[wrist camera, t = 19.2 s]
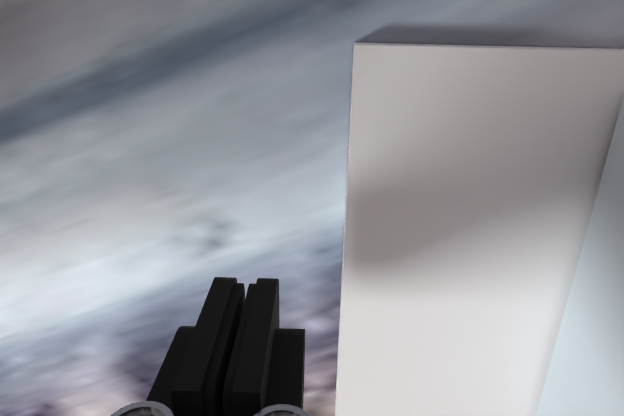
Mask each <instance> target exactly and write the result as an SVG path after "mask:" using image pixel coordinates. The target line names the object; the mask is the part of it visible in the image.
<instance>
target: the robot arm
mask: <svg viewBox="0 0 624 416" xmlns="http://www.w3.org/2000/svg"><path fill="white" fill-rule="evenodd" d="M304 361H305V329H279V280H278V279H268V278H258V279H257V283H256V284H249V287H248V291H247V295H246V299H245V289H244V284H243V283H237V279H236V278H226V277H215V278H214V280H213V282H212V285H211V288H210V290H209V293H208V295H207V298H206V300H205V303H204V306H203V308H202V311H201V313H200V316H199V318H198V321H197V324H196V326H181V327H179V329H178V330H177V332H176V334H175V337H174V339H173V341H172V343H171V346H170V348H169V350H168V352H167V355H166V357H165V359H164V362H163V364H162V366H161V368H160V371H159V373H158V375H157V377H156V380H155V382H154V384H153V386H152V389H151V391H150V393H149V396H148V398H147V400H146V401H141V402H136V403H132V404H129V405H127V406H125V407H122V408H120V409H119V410H118V411H116V412H115V413H113V414H112V415H111V416H310V415H309V414H308V413H307V412H305V411H304V410H303V392H304Z"/></svg>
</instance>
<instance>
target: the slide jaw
mask: <svg viewBox="0 0 624 416" xmlns="http://www.w3.org/2000/svg"><path fill="white" fill-rule="evenodd" d="M536 416H624V97H623V101H622V105H621V108H620V112H619V116H618V119H617V123H616V126H615V130H614V134H613V137H612V141H611V145H610V148H609V152H608V155H607V159H606V163H605V166H604V170H603V174H602V177H601V181H600V184H599V188H598V192H597V195H596V199H595V203H594V206H593V210H592V213H591V217H590V221H589V224H588V228H587V232H586V235H585V239H584V242H583V246H582V250H581V253H580V257H579V261H578V264H577V268H576V271H575V275H574V279H573V282H572V286H571V290H570V293H569V297H568V300H567V304H566V308H565V311H564V315H563V319H562V322H561V326H560V329H559V333H558V337H557V340H556V344H555V348H554V351H553V355H552V358H551V362H550V366H549V369H548V373H547V377H546V380H545V384H544V387H543V391H542V395H541V398H540V402H539V406H538V409H537V413H536Z"/></svg>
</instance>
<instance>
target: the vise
mask: <svg viewBox="0 0 624 416" xmlns="http://www.w3.org/2000/svg"><path fill="white" fill-rule="evenodd" d="M623 97H624V49H605V48H564V47H522V46H481V45H439V44H398V43H356V42H354V49H353V69H352V88H351V108H350V127H349V147H348V167H347V186H346V206H345V225H344V245H343V265H342V284H341V304H340V323H339V343H338V362H337V382H336V402H335V416H536V413H537V409H538V406H539V402H540V398H541V395H542V391H543V387H544V384H545V380H546V377H547V373H548V369H549V366H550V362H551V358H552V355H553V351H554V348H555V344H556V340H557V337H558V333H559V329H560V326H561V322H562V319H563V315H564V311H565V308H566V304H567V300H568V297H569V293H570V290H571V286H572V282H573V279H574V275H575V271H576V268H577V264H578V261H579V257H580V253H581V250H582V246H583V242H584V239H585V235H586V232H587V228H588V224H589V221H590V217H591V213H592V210H593V206H594V203H595V199H596V195H597V192H598V188H599V184H600V181H601V177H602V174H603V170H604V166H605V163H606V159H607V155H608V152H609V148H610V145H611V141H612V137H613V134H614V130H615V126H616V123H617V119H618V116H619V112H620V108H621V105H622V101H623Z"/></svg>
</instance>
